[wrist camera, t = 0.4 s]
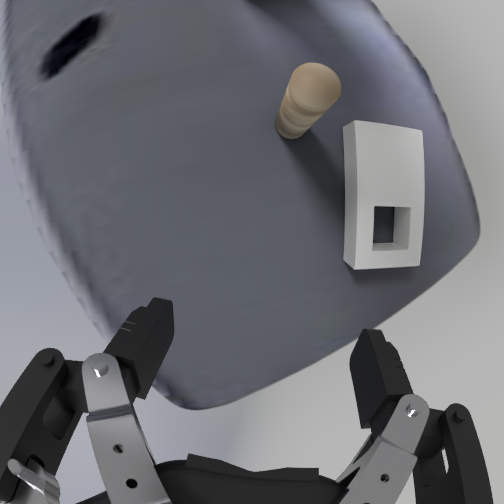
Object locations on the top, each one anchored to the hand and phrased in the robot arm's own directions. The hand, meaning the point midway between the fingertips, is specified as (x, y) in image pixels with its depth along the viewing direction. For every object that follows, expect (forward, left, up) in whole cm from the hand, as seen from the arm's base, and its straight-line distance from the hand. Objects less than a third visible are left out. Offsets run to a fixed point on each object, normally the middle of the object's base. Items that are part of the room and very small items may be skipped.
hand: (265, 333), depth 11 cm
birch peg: (-14, +5, -25) cm, 29 cm away
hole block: (-5, +17, -25) cm, 31 cm away
